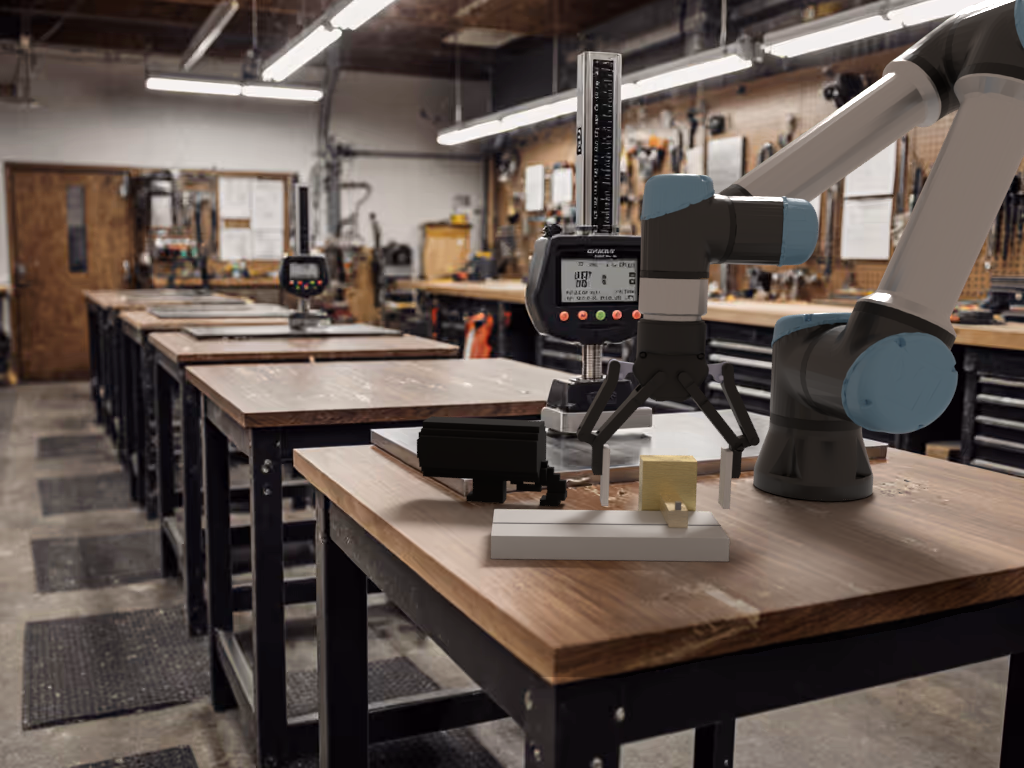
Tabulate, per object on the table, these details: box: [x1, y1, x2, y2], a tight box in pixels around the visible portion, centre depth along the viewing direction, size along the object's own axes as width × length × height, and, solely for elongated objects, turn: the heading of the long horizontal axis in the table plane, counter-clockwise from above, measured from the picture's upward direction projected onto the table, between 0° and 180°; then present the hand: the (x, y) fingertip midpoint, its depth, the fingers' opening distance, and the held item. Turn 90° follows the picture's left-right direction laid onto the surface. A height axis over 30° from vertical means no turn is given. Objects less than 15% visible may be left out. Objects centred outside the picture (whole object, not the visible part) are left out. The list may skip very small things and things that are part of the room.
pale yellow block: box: [637, 454, 698, 528], centre depth 103 cm, size 6×10×8 cm, turn 179°
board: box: [490, 508, 731, 562], centre depth 101 cm, size 24×10×2 cm, turn 89°
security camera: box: [416, 416, 568, 508], centre depth 118 cm, size 7×18×10 cm, turn 79°
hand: (663, 504), depth 108 cm, fingers open, 13 cm apart
